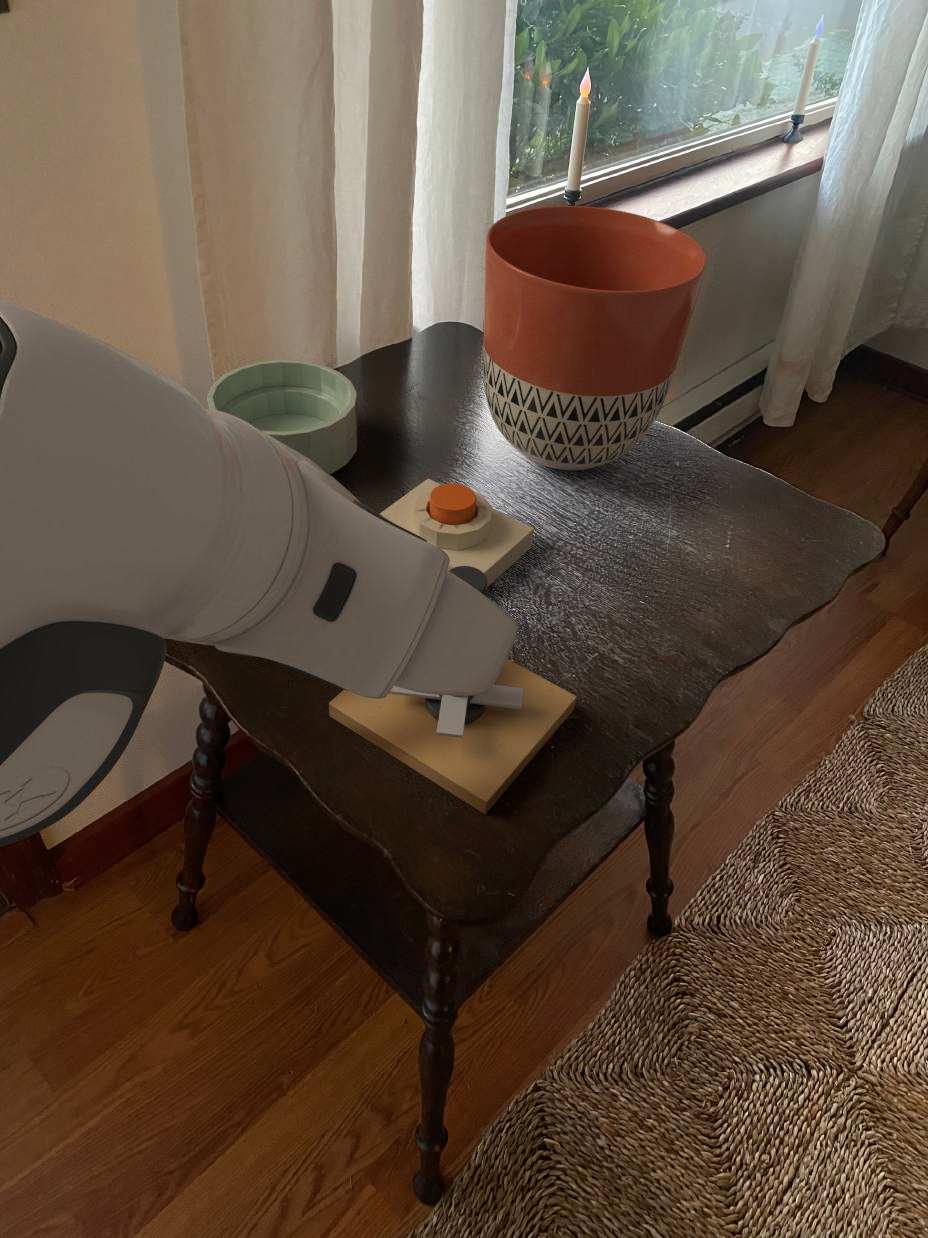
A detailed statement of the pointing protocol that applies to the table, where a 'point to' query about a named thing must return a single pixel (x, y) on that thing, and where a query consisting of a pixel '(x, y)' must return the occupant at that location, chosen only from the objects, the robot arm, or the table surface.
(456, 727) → the blade
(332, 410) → the processor bowl
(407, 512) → the base
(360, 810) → the table surface
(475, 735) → the cutting board
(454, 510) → the release button
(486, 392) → the planter
